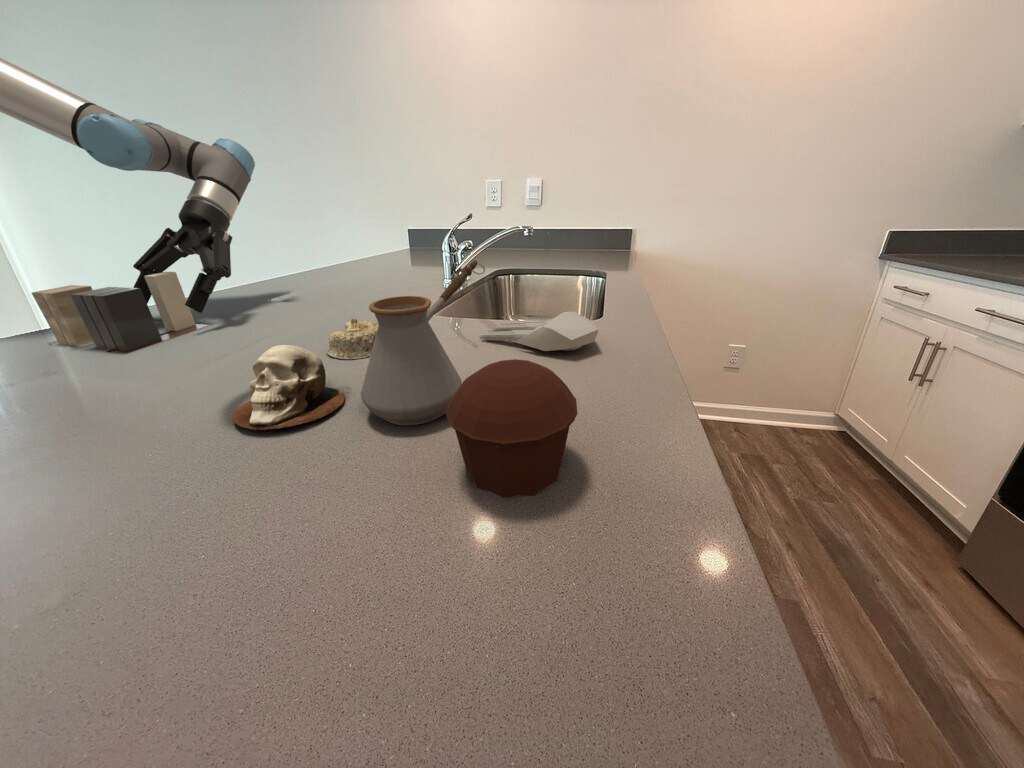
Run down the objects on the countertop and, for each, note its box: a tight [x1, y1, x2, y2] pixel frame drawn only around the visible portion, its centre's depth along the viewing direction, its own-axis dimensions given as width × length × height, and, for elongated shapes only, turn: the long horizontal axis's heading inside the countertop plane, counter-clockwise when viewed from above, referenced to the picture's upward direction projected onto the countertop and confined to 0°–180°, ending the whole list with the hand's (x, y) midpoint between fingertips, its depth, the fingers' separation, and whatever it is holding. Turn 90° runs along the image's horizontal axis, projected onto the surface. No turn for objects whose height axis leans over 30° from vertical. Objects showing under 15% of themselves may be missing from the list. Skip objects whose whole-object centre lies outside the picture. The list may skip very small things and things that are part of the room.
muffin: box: [444, 358, 578, 499], centre depth 36 cm, size 12×11×10 cm
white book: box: [144, 271, 197, 331], centre depth 74 cm, size 2×4×10 cm, turn 165°
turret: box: [478, 311, 599, 352], centre depth 67 cm, size 10×20×5 cm, turn 61°
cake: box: [325, 318, 379, 360], centre depth 66 cm, size 10×10×5 cm
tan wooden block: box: [31, 284, 94, 347], centre depth 73 cm, size 8×15×10 cm, turn 165°
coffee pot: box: [360, 259, 486, 426], centre depth 49 cm, size 21×12×15 cm, turn 151°
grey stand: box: [71, 286, 211, 355], centre depth 70 cm, size 8×15×10 cm, turn 166°
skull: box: [231, 344, 346, 431], centre depth 49 cm, size 12×10×10 cm
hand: (163, 307), depth 73 cm, fingers open, 13 cm apart
